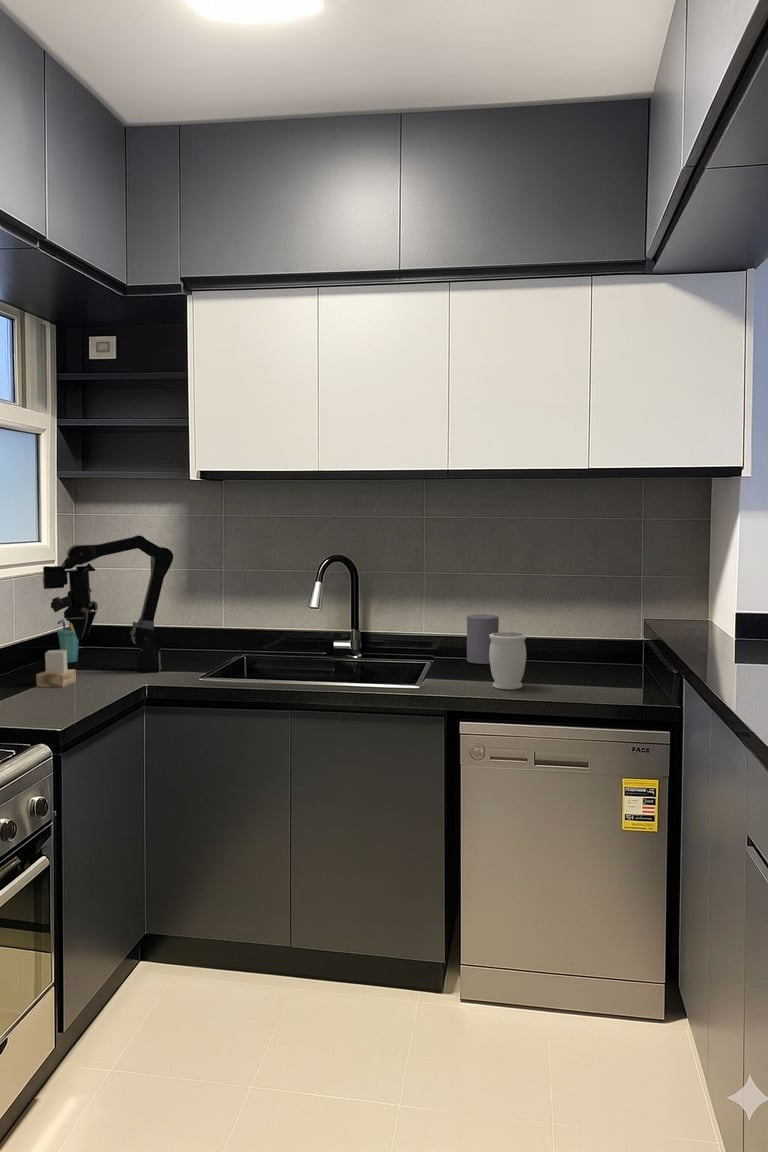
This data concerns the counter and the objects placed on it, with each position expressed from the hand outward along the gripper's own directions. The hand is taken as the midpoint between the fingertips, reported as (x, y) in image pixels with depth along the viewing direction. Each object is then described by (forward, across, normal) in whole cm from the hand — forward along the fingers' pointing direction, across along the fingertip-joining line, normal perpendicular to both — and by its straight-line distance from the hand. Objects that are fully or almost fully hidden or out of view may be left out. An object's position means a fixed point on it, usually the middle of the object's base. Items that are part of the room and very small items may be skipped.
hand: (83, 637), depth 268 cm
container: (+15, -4, +125) cm, 126 cm away
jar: (+15, +35, +123) cm, 129 cm away
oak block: (+12, +10, -6) cm, 17 cm away
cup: (+12, -27, -11) cm, 32 cm away
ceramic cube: (+8, +10, -6) cm, 14 cm away
